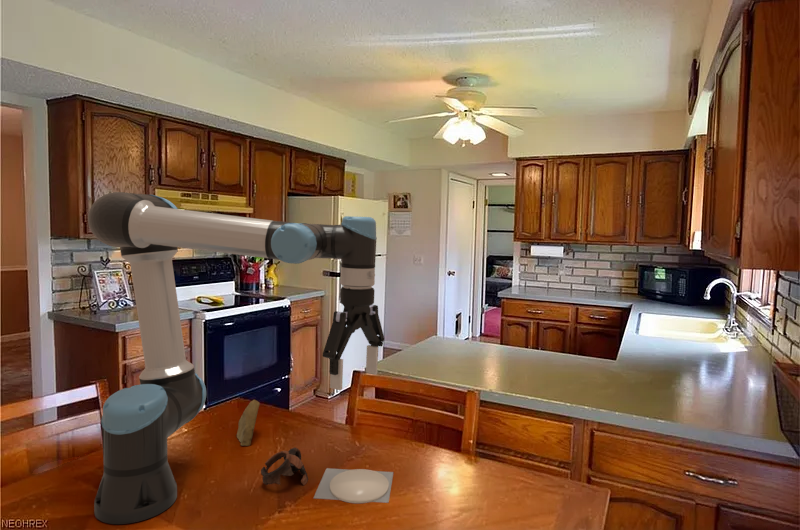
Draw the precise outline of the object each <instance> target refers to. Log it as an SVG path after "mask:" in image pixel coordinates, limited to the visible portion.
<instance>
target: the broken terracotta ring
mask: <svg viewBox="0 0 800 530" xmlns="http://www.w3.org/2000/svg"><path fill="white" fill-rule="evenodd" d="M282 458H283V462H282V463H281V465H279V466H278V467H277V468H276V469H274V470H272V471H270V472H269V470H270V468H271V467H272V466H273V464H275V463H276V462H278V461H279V460H281V459H282ZM264 464H265V466H263V467H262V468H261V470H260V475H261V476H262V483H263V485H266V486H269V485H273V484H276V485H281V476H283V477H292V476H294V474H295V473H298V472H299V474H300V475H301V476H302V478H301V480H300V483H301V484H302V486H306V485H307V483H308V482H309V477H308V473H307V471H306V468H305V465H304V464H303V461H302V453H301V450H300V449H299V448H297V447H292V448H290V449H289V450H281V451H279V452H277V453H275V454H273V455H271V456H270V457H269V458H268V459H267V460H266V462H265V463H264Z"/></svg>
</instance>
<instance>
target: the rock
mask: <svg viewBox="0 0 800 530" xmlns="http://www.w3.org/2000/svg"><path fill="white" fill-rule="evenodd" d="M260 405H261V404H260V402H259V401H258V400H256V399H252V400H251V401H250V402H249V403H248V405H247V406H246V407H245V409H244V410H243V413H242V415H240V416H241V417H239V418H240V419H239V420H238V422H237V423H238V424H237V425H238V429H237V433H236V438H237V440H238V441H239V442H240V446H241V447H242V446H244V447H245V446H247V447H249V446H251V444H252V439H253V435H254V429H255V427H256V426H255V425H256V423H257V422H256V421H257V415H258V411H259V407H260Z"/></svg>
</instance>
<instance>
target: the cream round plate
mask: <svg viewBox="0 0 800 530" xmlns="http://www.w3.org/2000/svg"><path fill="white" fill-rule="evenodd" d="M376 471H377V470H372V469H365V468H356V469H355V468H354V469H348V471H345V472H342V473H339V474H338V475H336V476H335V477H334V478H333V479H332V480H331V482H330V492H331V494H332V495H333V496H334V497H335V498H337V499H339V500H338V501H341V502H345V503H348V504H349V503H350V504H366V503H367V504H368V503H373V502H372V501H375V500H378V499H380V498H382V497H383V496H384V495H385V494H386V493H387V491H388V489H389V482H388V480H387V478H386V477H385V476H384V475H382V474H381V473H378V472H376Z"/></svg>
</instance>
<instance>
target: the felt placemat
mask: <svg viewBox="0 0 800 530" xmlns="http://www.w3.org/2000/svg"><path fill="white" fill-rule="evenodd" d="M348 470H349V469H346V468H345V469H344V468H343V469H342V468H329V467H327V468H326V469H325V471H324V473H323V475H322V478H321V479H320V482H319V484H318V487H317V489H316V491H315V493H314V496H313V499H319V500H336V501H340V500H339V499H337V498H335V497H334V496H333V495H332V494H331V492H330V482H331V480H332V479H333V478H334V477H335V476H336V475H338V474H339V473H342V472H345V471H348ZM375 471H376V472H378V473H381V474H382V475H384V476H385V477H386V478H387V480H388V482H389V489H388V491H387V493H386V494H385V495H384V496H383V497H382V498H380V499H378V500H375V501H372V502H371V503H380V504H381V503H384V504H385V503H386V504H389V501H390V497H391V490H392V484H393V477H394V471H381V470H379V471H378V470H375Z"/></svg>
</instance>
